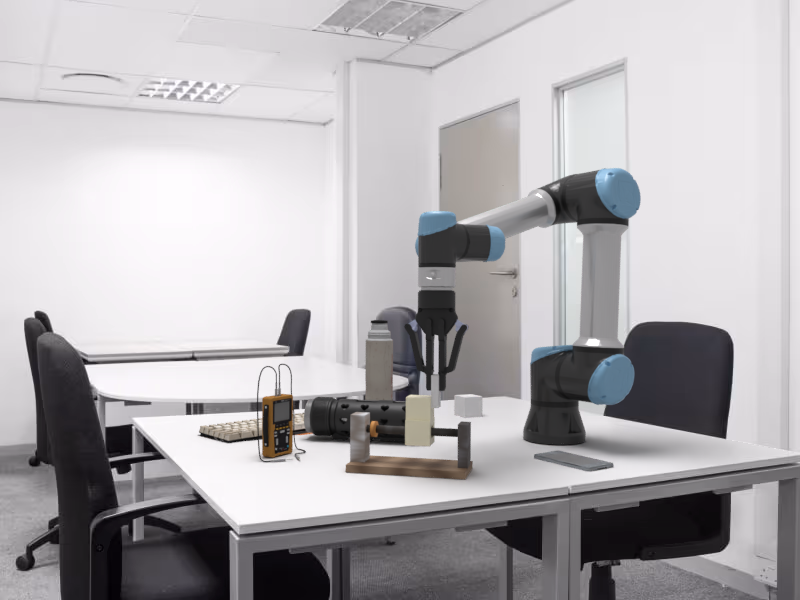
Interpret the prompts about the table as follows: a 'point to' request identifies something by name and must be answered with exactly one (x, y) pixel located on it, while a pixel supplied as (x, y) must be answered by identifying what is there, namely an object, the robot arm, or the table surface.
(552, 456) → the phone
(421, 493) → the table surface
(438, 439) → the table surface
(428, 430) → the stacked cream cubes
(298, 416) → the mechanical keyboard
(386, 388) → the thermos bottle
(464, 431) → the twin post axle stand
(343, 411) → the muzzle brake
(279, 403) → the multimeter
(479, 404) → the white cube
